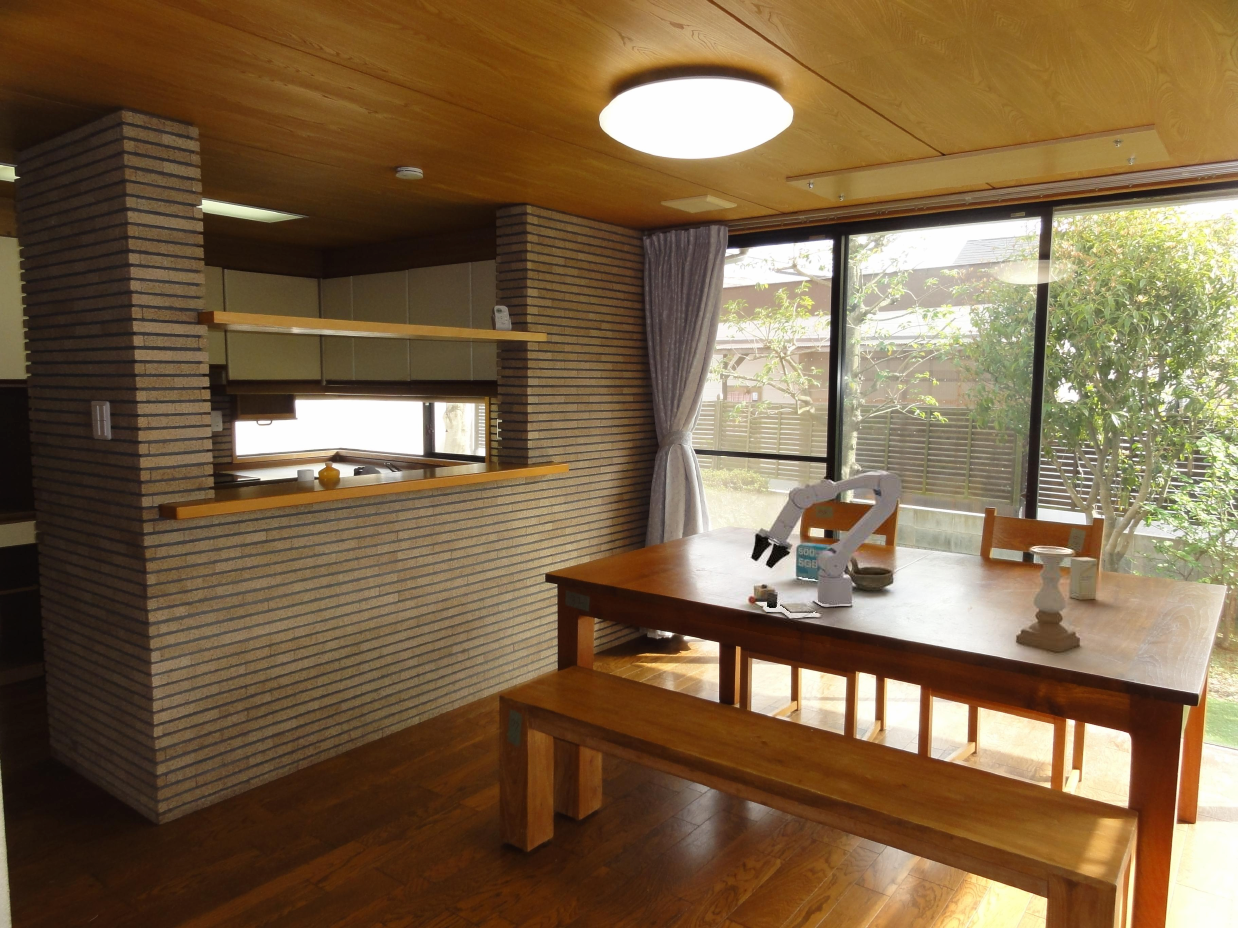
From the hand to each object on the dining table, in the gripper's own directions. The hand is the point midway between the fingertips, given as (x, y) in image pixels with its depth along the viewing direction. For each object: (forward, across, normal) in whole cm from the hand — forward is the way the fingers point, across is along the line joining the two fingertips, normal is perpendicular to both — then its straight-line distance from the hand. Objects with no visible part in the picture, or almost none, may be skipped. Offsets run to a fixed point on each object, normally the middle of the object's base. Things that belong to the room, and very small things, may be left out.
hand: (761, 563), depth 244 cm
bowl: (-8, -43, +8) cm, 45 cm away
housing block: (+10, -7, +3) cm, 13 cm away
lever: (+10, 0, +9) cm, 13 cm away
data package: (-1, -40, -9) cm, 41 cm away
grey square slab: (+7, -4, +14) cm, 17 cm away
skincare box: (-40, -78, +51) cm, 101 cm away
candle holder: (-22, -27, +68) cm, 77 cm away
